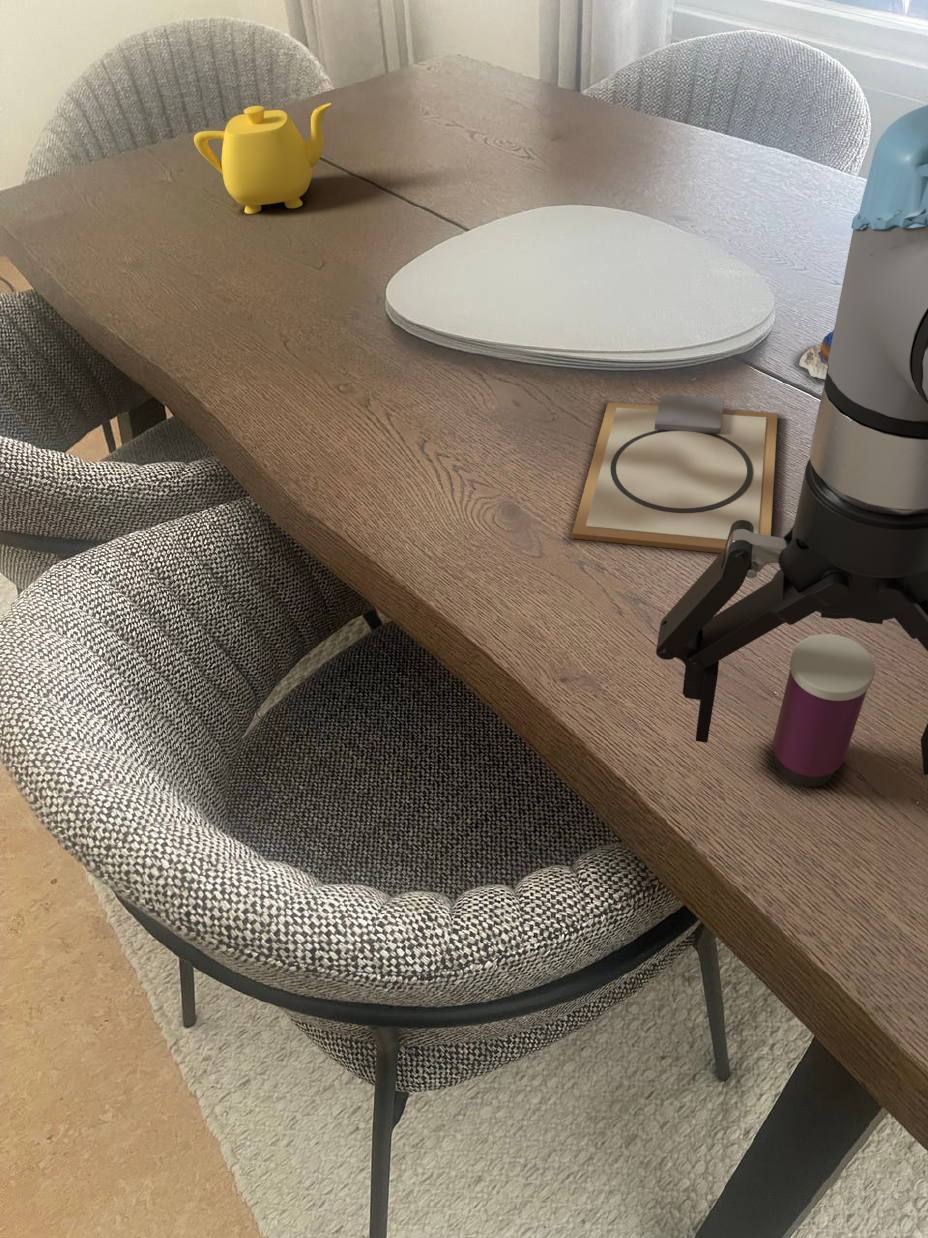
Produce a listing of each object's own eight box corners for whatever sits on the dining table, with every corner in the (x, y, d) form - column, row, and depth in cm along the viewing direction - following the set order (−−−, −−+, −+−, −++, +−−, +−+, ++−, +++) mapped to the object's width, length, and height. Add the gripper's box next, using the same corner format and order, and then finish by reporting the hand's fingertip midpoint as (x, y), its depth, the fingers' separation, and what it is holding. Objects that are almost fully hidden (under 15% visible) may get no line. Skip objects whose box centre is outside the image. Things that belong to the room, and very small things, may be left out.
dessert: (905, 355, 92) (893, 323, 88) (867, 412, 93) (853, 383, 88) (834, 334, 97) (818, 303, 93) (798, 389, 98) (781, 360, 93)
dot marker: (841, 798, 59) (877, 697, 52) (766, 786, 60) (790, 686, 53) (841, 740, 62) (874, 638, 55) (769, 730, 63) (792, 628, 56)
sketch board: (768, 558, 75) (771, 545, 74) (572, 538, 79) (571, 525, 78) (777, 414, 89) (779, 401, 88) (608, 403, 93) (609, 390, 92)
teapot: (346, 207, 133) (330, 113, 125) (208, 225, 133) (181, 132, 125) (346, 173, 143) (331, 83, 134) (216, 189, 143) (192, 101, 134)
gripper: (1172, 442, 44) (1021, 724, 59) (635, 408, 50) (623, 671, 65) (1217, 547, 39) (1040, 825, 54) (615, 494, 45) (607, 758, 60)
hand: (812, 741), depth 59 cm, fingers open, 13 cm apart
